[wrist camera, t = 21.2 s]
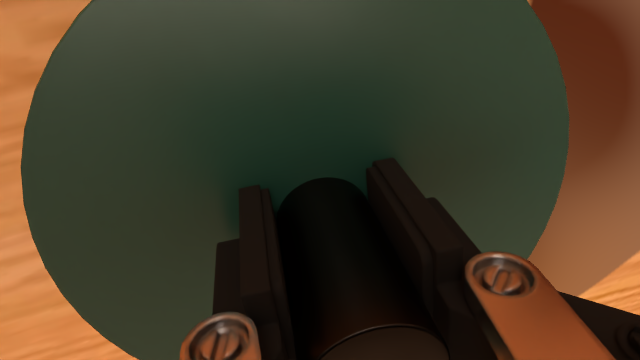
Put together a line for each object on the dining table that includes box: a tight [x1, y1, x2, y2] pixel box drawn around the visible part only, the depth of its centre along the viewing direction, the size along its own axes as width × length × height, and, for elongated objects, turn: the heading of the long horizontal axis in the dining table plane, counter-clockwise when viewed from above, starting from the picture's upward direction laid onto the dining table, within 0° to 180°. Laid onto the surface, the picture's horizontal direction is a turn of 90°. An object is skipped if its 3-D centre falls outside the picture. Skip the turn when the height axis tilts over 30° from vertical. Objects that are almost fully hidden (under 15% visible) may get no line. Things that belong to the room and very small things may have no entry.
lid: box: [21, 0, 569, 360], centre depth 10 cm, size 14×14×6 cm
